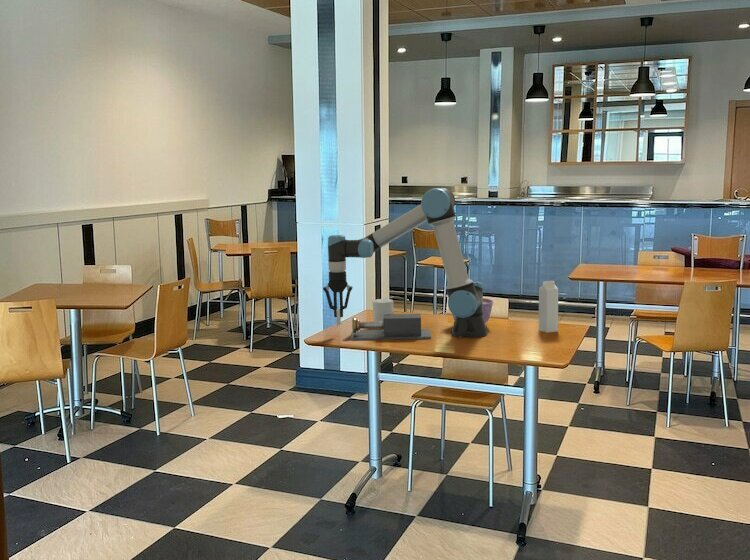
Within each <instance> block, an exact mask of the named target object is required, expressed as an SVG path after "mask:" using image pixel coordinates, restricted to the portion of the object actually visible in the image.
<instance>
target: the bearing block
mask: <svg viewBox="0 0 750 560" xmlns="http://www.w3.org/2000/svg"><path fill="white" fill-rule="evenodd" d="M383 322H384V328H383V329H360V331H357V333H353V331H352V333H351V337H350V341H377V340H378V341H379V340H380V341H383V340H385V341H386V340H387V341H388V340H389V341H390V340H393V341H394V340H431V339H432V336H431V329H430V328H422V316H421V313H395V314H394V313H393V314H384V318H383Z"/></svg>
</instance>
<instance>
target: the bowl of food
mask: <svg viewBox="0 0 750 560" xmlns="http://www.w3.org/2000/svg"><path fill="white" fill-rule="evenodd" d="M493 305H494V300H493V299H491V298H490V299H489V298H485V297H483V319H484V322H485V324H486V323H488V322H489V320H490V316H491V312H492V308H493ZM451 315H452V319H453V320H454V321H455V318H456V316H455V315H453V314H452V313H451Z"/></svg>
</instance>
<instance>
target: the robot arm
mask: <svg viewBox="0 0 750 560" xmlns="http://www.w3.org/2000/svg"><path fill="white" fill-rule="evenodd" d="M455 204H456V197H455V195H454V193H453V192H452V191H451V190H450V189H448V188H446V187H435V188H430V189H428V190H426V192H425V193H424V194H423V196H422V197H421V202H420V204H419V205H417V206H416V207H414V208H411V209H410V210H409V211H407V212H405V213H404V214H402V215H400V216H399V217H397V218H395V219H394V220H392V221H390V222H389V223H387V224H385V225H383V226H382V227H380V228H378V229H377V230H375V231H374V232H372V233H370V234H369V235H367V236H365V237H362V238H359V239H347V238H346V236H345V235H344V234H333V235H329V236H328V237H327V256H328V259H327V260H328V261H327V263H328V264H327V265H328V283H327V285H326V286H324V287H323V288H322V290H323V292H324V294H325V295H326V300H327V304H328V307H329V309H330V310H332V311H333V316H334V318H336V326H341V325H342V321H341V320H342V318H343V317H344V310H345V309H348V304H349V299H350V295H351V294H350V293H351V292H352V290H353V289H354V287H353V286H352V285H349V284H348V282H347V259H346V258H358V259H359V258H361V259H365V258H371V257H373V254H374V253H376V252H377V251H378V250H380V249H381V248H383V247H384V246H386V245H389V243H392V242H394V241H395V240H397V239H399V238H400V237H402V236H404V235H406V233H409V232H411V231H412V230H414V229H416V228H417V227H419V226H420V225H422V224H424V223H426V222H427V223H428V225H429V226H430V227H432V228H433V232H434V235H435V239H436V242H437V246H438V250H439V254H440V257H441V261H442V264H443V268H444V272H445V276H446V280H447V285H446V287H445V291H446V295H447V297H448V299H447V307H448V310H449V311H450V313H451V315H452V314H453V315H455V316H456V318H455V320H454V321H453V326H452V327H451V335H452V336H453V337H458V338H469V339H471V338H473V339H474V338H481V337H485V336H487V335H488V328H487V327H486V323H485V322H484V319H483V298H484V297H483V296H484V286H483V283H482V282H481V281H474V280H473V279H470V278H469V275H468V271H467V267H466V263H465V259H464V255H463V252H462V249H461V245H460V241H459V237H458V234H457V231H456V229H457V228H456V225H455V223H454V222H455V219H456V217H457V215H456V212H455V206H456V205H455ZM329 290H330V291H332V294H333V295H332V296H333V302H332V298H331V295H330V291H329ZM344 290H347V292H346V296H345V300H344V301H343V299H344V296H343V294H344ZM338 295H339V297H338ZM338 298H339V309H338Z"/></svg>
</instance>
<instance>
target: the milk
mask: <svg viewBox="0 0 750 560" xmlns="http://www.w3.org/2000/svg"><path fill="white" fill-rule="evenodd" d="M555 282H556V281H555V280H546V281H545V280H544V281H542V285H541V286H539V287H538V331H540V332H543V333H548V334H549V333H556V332H559V288H558V286H556V284H555Z"/></svg>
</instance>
